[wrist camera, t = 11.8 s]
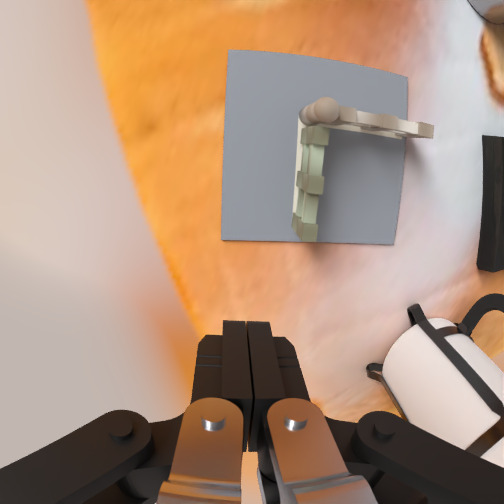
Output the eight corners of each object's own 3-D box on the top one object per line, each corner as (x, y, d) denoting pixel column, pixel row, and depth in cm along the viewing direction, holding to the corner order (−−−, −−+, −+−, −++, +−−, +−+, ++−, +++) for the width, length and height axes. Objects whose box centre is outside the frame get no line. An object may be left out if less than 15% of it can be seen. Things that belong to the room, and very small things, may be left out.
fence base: (406, 122, 27) (445, 120, 21) (405, 141, 28) (444, 143, 21) (298, 104, 26) (317, 93, 20) (297, 125, 27) (316, 120, 20)
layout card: (406, 77, 26) (407, 77, 25) (392, 243, 31) (393, 244, 31) (228, 50, 24) (228, 49, 24) (221, 238, 30) (221, 240, 30)
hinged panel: (301, 128, 26) (314, 125, 22) (314, 130, 27) (329, 128, 22) (291, 227, 29) (301, 241, 25) (303, 227, 29) (316, 242, 25)
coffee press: (455, 362, 39) (557, 496, 11) (366, 401, 39) (444, 577, 11) (466, 264, 33) (636, 400, 5) (359, 303, 34) (513, 541, 5)
